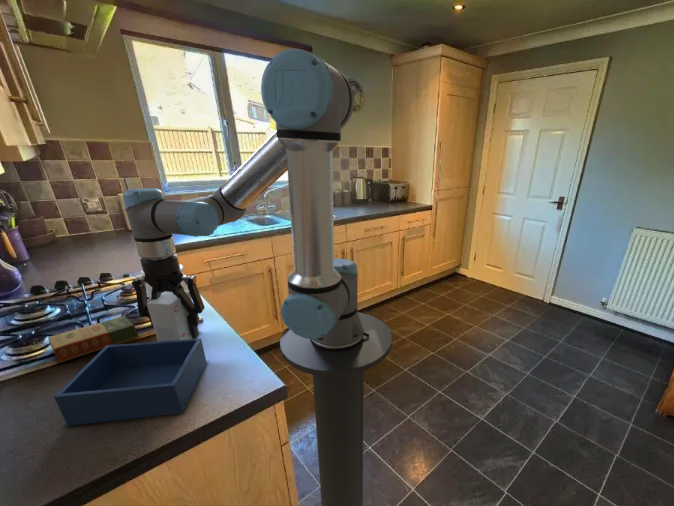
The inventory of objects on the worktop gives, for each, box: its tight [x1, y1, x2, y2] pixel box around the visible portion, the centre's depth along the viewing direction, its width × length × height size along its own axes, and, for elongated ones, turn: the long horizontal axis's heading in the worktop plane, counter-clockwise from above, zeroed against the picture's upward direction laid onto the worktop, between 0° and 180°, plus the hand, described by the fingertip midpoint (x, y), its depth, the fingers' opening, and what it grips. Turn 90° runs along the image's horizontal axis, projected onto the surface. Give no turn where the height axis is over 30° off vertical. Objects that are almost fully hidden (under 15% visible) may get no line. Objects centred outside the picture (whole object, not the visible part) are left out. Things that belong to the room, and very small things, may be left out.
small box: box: [146, 290, 200, 342], centre depth 86 cm, size 8×6×13 cm
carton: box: [47, 315, 139, 364], centre depth 85 cm, size 8×16×4 cm, turn 140°
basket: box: [53, 338, 207, 427], centre depth 69 cm, size 20×17×7 cm
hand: (179, 336), depth 88 cm, fingers closed on small box, 7 cm apart
